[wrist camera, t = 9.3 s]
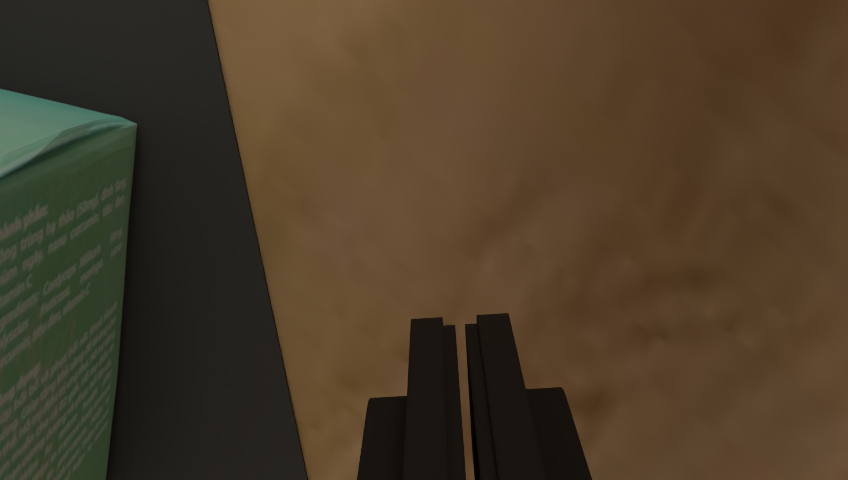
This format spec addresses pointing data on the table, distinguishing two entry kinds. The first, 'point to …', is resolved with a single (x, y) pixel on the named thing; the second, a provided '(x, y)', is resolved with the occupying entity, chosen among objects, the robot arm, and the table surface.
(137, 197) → the mat
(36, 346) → the box
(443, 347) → the robot arm
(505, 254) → the table surface
